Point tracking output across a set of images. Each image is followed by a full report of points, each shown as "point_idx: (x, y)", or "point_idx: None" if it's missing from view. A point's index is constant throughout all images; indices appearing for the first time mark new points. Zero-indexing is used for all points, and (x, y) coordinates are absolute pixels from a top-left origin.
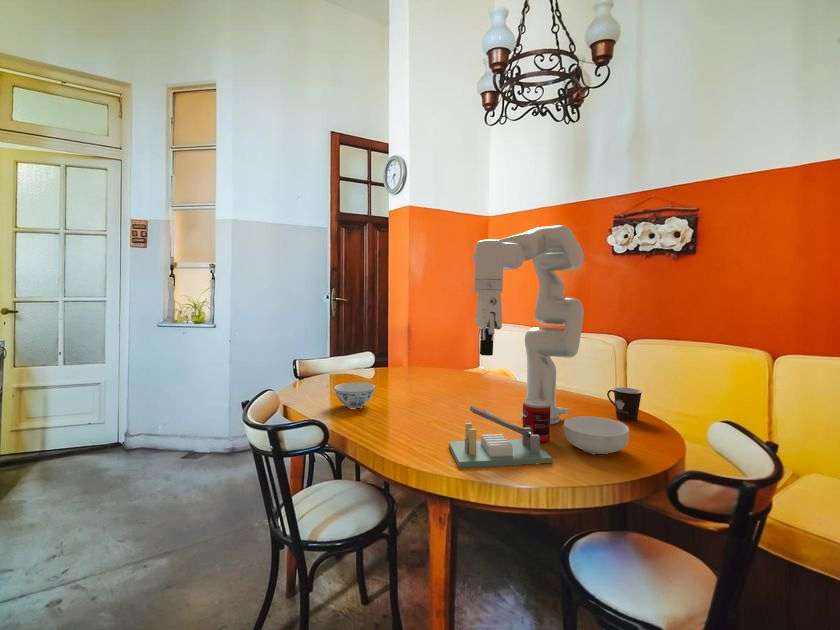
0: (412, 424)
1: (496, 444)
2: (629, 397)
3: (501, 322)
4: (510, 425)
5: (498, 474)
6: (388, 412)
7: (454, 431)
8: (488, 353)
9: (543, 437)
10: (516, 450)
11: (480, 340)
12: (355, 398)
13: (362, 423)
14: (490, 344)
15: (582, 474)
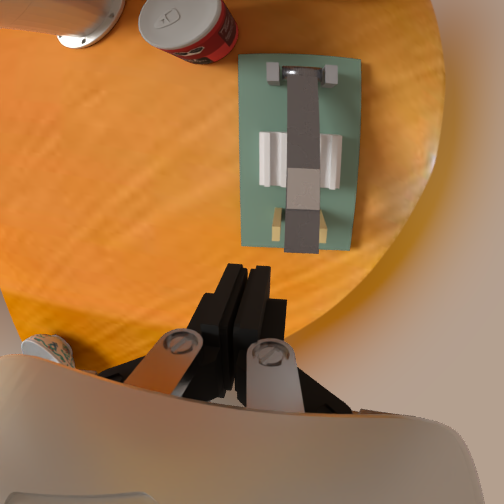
0: (119, 283)
1: (333, 172)
2: None
3: (479, 488)
4: (319, 133)
5: (387, 185)
6: (70, 308)
7: (151, 210)
8: (268, 297)
9: (236, 26)
10: None
11: (221, 395)
12: (71, 364)
13: (128, 352)
14: (283, 335)
15: (406, 38)
